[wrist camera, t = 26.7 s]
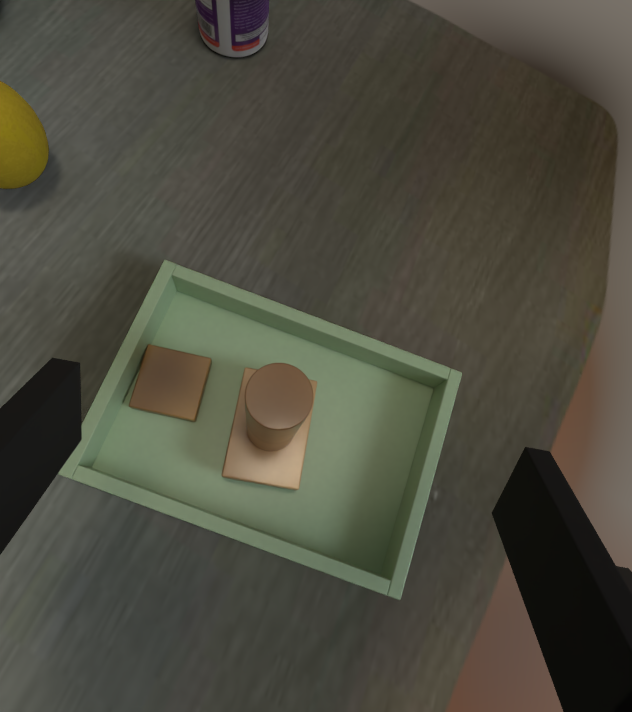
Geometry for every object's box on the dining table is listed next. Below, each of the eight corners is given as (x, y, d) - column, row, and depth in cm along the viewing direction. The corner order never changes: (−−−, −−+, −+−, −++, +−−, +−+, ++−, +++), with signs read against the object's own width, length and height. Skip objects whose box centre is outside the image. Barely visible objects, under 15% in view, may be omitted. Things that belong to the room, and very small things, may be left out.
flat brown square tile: (212, 361, 32) (211, 357, 32) (196, 422, 31) (194, 420, 30) (150, 347, 32) (147, 343, 31) (130, 408, 31) (127, 406, 30)
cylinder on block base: (313, 389, 33) (344, 332, 22) (295, 491, 31) (319, 485, 20) (245, 376, 32) (242, 312, 21) (223, 478, 30) (207, 465, 20)
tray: (445, 383, 34) (462, 372, 31) (386, 591, 30) (400, 601, 27) (171, 279, 34) (164, 259, 31) (75, 476, 30) (56, 473, 27)
